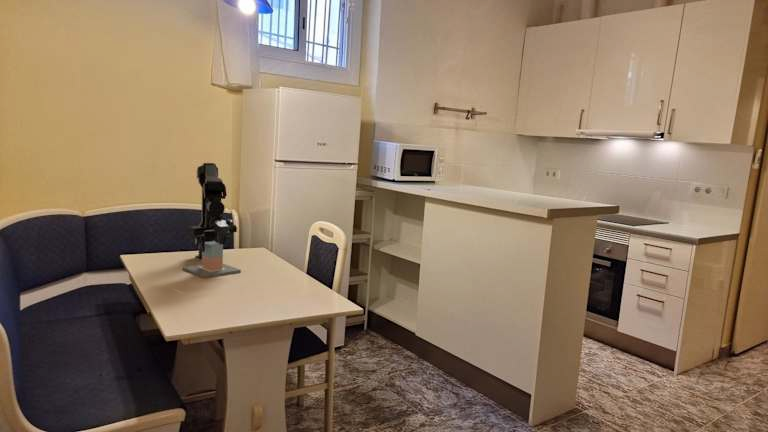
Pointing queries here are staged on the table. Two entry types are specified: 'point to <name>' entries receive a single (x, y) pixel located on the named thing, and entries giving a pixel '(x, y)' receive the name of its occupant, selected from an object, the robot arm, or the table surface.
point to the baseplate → (208, 273)
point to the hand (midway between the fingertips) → (212, 250)
